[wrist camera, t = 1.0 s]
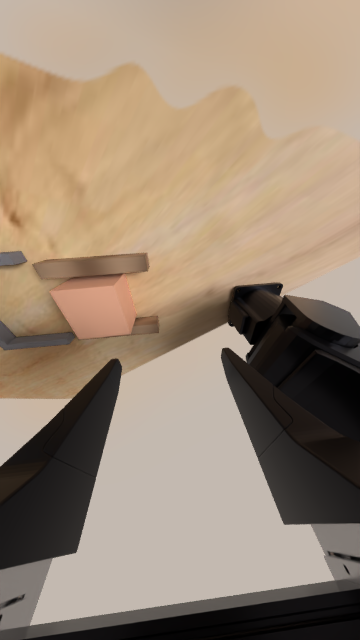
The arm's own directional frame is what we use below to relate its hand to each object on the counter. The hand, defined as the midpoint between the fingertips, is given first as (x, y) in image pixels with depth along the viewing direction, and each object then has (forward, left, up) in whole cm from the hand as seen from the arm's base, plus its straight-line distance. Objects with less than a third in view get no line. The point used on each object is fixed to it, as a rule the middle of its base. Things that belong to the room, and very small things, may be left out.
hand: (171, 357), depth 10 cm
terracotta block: (+8, 0, -11) cm, 14 cm away
